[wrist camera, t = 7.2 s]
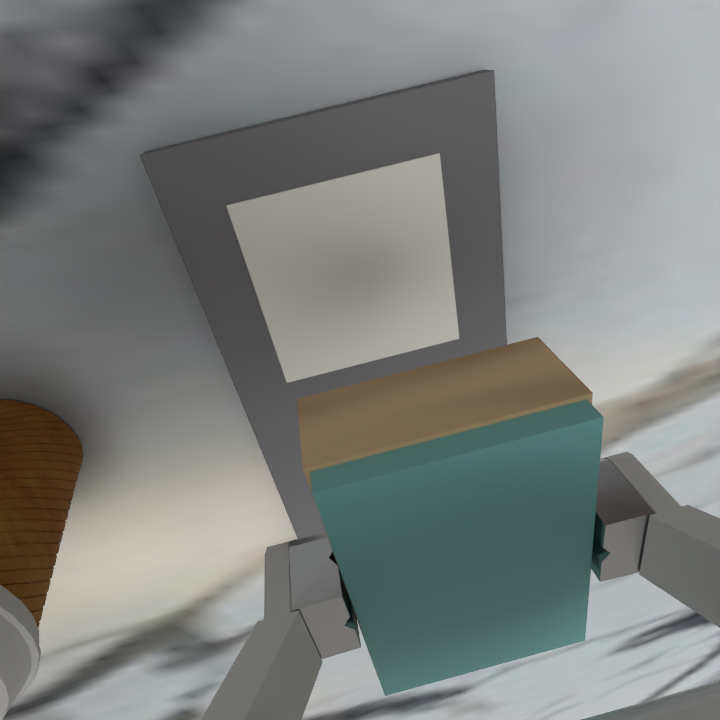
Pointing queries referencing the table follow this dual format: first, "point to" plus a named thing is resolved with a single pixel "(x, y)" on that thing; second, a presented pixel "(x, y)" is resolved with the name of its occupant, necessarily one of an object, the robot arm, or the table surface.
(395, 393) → the teal flat block
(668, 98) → the table surface
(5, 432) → the disposable coffee cup
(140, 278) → the table surface
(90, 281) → the table surface
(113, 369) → the table surface
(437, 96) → the rubber mat
